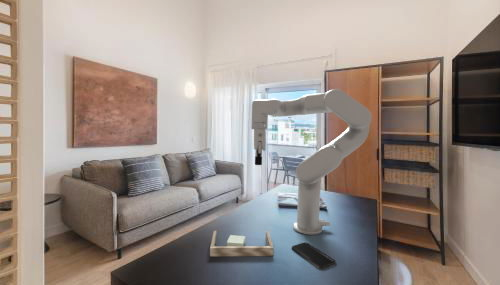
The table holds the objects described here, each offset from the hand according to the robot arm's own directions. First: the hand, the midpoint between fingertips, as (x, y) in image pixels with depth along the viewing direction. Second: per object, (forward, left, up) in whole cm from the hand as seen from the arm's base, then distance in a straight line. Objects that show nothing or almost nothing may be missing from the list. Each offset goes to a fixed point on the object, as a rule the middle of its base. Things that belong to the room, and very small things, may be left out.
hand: (258, 164), depth 112 cm
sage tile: (+10, +24, -28) cm, 38 cm away
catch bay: (+8, +25, -27) cm, 38 cm away
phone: (-17, +32, -28) cm, 46 cm away
